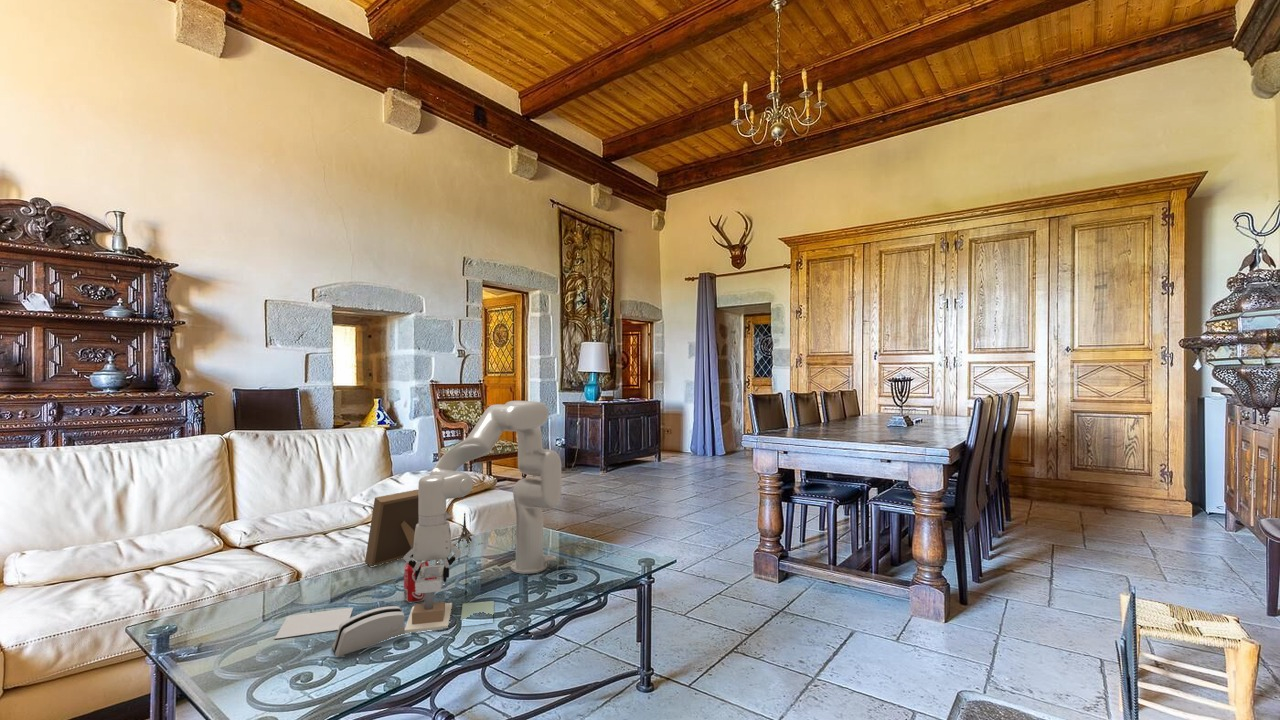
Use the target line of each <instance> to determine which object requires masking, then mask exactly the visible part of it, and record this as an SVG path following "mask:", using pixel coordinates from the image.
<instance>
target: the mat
mask: <svg viewBox="0 0 1280 720" xmlns="http://www.w3.org/2000/svg"><path fill="white" fill-rule="evenodd" d="M479 612H481V613H482V612H484V613H486V614H488V613H490V614H492V615H493V614H494V615H495V601H494V600H489V601H477V602H467V603H462V607H461V615H460V620H463V618H464V619H466V618H467V617H470V615H473V613H479Z"/></svg>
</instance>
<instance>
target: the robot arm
mask: <svg viewBox="0 0 1280 720" xmlns="http://www.w3.org/2000/svg"><path fill="white" fill-rule="evenodd" d="M548 418H549V408H548V407H547V405H546V404H545V403H543V402H541V401H532V400H531V401H529V400H510V401H507V402H505V404H499V403H498V404H491V405H489V406H488V407H487V408H486V409H485V410H484V412H483V413H482V415H481V416H480V418H479V419H478V420H477V423H476V424H475V425H474V427H473V428H472V429H471V431H470V433H469V434H468V436H467V437H466V438H465V439H463V440H462V441H460V442H459V443H458V444H456V445H455V446H453V447H452V448H450V449H449V450H447V452H445V453H444V454H442V456H441V457H440V458H438V461H437V462H436V464H435V465H434V466H433V468H432V469H431V471H430V473H429V475H426V476H422V477H421V478H420V479H419V481H418V485H417V487H418V489H417V490H418V513H419V514H418V524H416V528H415V534H414V545H413V547H412V548H411V549H410V550H409V551H408V552H407V553H406V554H405V555H404V557H403V561H405V562H406V564H407V563H408V564H409V565H410V566H411V567H412V568H414V570H415V581H416V580H417V577H418V575H419V572H420V569H421V566H420V564H421V562H422V561H426V560H430V561H436V560H438V559H440V560H441V561H442V563H443V565H444V580H443V583H447V579H449V577H450V566H451V565H453V563H454V562H455V561H456V560H457V559H458V558H459V557H460V556H461V553H462V551H461V550H460V549H459V547H456V546H454V545H453V544H454V543H452V533H451V526H450V522H449V521H448V520H451V519H452V513H448V512H447V500H448V499H449V500H450V499H459V498H463V497H465V496H467V495H469V494H470V492H471V491H472V490H473V488H474V487H473V486H474V479H473V478H472V477H471V475H470V474H468V472H467V473H466V472H462V471H457V470H458V469H459V468H460V467H461V466H463V465H464V464H466V463H468V462H470V461H474V460H475V459H479V458H481V457H484V456H486V455H488V454H489V453H491V451H492V449H493V448H494V446H495V445H496V444H497V442H498V441H499V438H500V436H501V435H502V434H503V432H516V437H517V467H518V471H520V473H522V475H523V474H524V475H528V476H533V477H524V478H521V479H519V480H517V482H515V484H514V487H513V490H512V491H513V492H512V494H513V500H514V506H515V561H514V562H513V563H511V565H510V569H511V571H512V572H514V573H515V574H521V575H522V574H523V575H529V574H530V575H531V574H537V573H541V572H543V571H544V570H546V569H547V567H548V563H554V562H557V556H556V555H555V556H554V555H552V554H547V555H546V554H544V553H545V552H544V515H543V511H542V509H546V510H547V509H548V510H551V509H554V508H555V507H557V506H558V505H559V504H560V501H561V497H562V460H561V457H560V455H559V453H557V451H555V450H552V449H547V448H546V449H545V448H544V447H543V436H542V435H543V433H542V430H541V427H542V426H544V424H545V423H546V422H547V421H548ZM534 477H540V478H534ZM451 553H453V555H451ZM412 554H413V557H412V556H411V555H412ZM450 556H451V557H450ZM411 558H414V560H416V561H417V562H415V561H414V560H413V559H411Z"/></svg>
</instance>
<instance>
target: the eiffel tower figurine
mask: <svg viewBox="0 0 1280 720" xmlns="http://www.w3.org/2000/svg"><path fill="white" fill-rule="evenodd" d="M463 515H464V516H463V526H462V530H461V535H459V539H458V541H457V542H456V543H452V544H453V545H454V546H455V547H456V548H458V547H457V546H456V544H457V543H459V542H460V541H461V539H462V540H466V541H467V544H468V545H470V544H471V543H470V542H469V540H470V541H471V542H472V541H473V539H472V538H471V537H470V533H468V528H467V525H466V524H467V523H466V520H467V519H466V512H464V513H463ZM480 543H481V544H480ZM480 543H477V544H478V545H482V544H483V542H480ZM468 545H467V546H466V547H465V548H469V547H468ZM478 545H477V546H478Z"/></svg>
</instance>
